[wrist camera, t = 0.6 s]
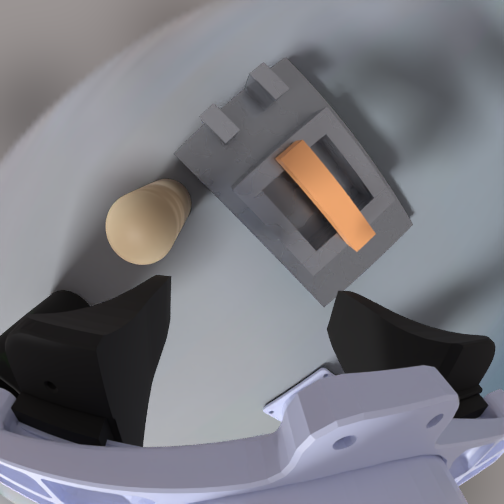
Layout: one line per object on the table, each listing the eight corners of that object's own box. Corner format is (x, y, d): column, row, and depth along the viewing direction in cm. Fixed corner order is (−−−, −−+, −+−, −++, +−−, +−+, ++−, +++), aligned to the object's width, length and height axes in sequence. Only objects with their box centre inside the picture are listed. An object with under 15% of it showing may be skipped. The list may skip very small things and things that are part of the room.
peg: (201, 203, 20) (191, 229, 13) (167, 238, 21) (143, 278, 14) (165, 168, 19) (137, 176, 12) (132, 204, 19) (93, 230, 13)
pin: (364, 227, 18) (375, 234, 16) (346, 243, 18) (356, 251, 16) (295, 140, 16) (303, 139, 14) (275, 158, 16) (280, 159, 14)
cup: (113, 297, 22) (51, 404, 10) (104, 362, 24) (64, 462, 12) (39, 267, 20) (-46, 342, 9) (39, 333, 22) (-19, 414, 11)
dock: (406, 221, 22) (443, 238, 17) (320, 301, 23) (341, 335, 19) (282, 61, 17) (300, 36, 12) (175, 153, 19) (160, 153, 14)
